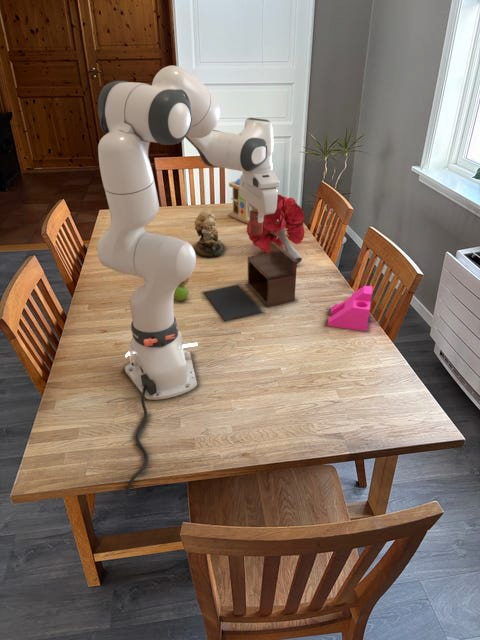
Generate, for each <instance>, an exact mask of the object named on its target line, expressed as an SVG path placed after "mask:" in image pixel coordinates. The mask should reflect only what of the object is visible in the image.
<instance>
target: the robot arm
mask: <svg viewBox="0 0 480 640" xmlns="http://www.w3.org/2000/svg"><path fill="white" fill-rule="evenodd" d="M98 95H99V96H98V100H97V114H98V119H99V126H100V129H101V130H102V132H103V133H104V134H105V135H103V136H102V137H101V138H100V140H99V143H98V146H97V154H98V164H99V171H100V177H101V181H102V186H103V190H104V192H105V193H104V194H105V197H106V200H107V204H108V205H107V206H108V209H109V213H110V224H109V227H108V228H107V230H105V231H104V232H103V233H102V234H101V236H100V237H99V240H98V242H97V244H96V254H97V258H98V260H99V262H100V263H101V265H102V266H103V267H106V268H108V269H110V270H112V271H114V272H117V273H119V274H125V275H130V276H136V277H140V278H143V280H144V284H142V285H140V286H139V287H137V288H135V290H133V291H132V293H131V295H130V297H129V307H130V308H129V309H130V314H131V315H130V316H131V323H130V326H131V327H130V330H131V334H132V338H131V340H130V341H129V343H128V345H127V347H128V352H127V353H126V354H125V358H127V357H128V356H129V357H128V358H129V363H127V364H126V366H125V367H124V371H125V374H126V375H127V376H128V377H129V379H130V380H131V381H132V382H133V384H134V385H135V386H136V388H137V389H138V390H139V392H140V393H141V398H140V399H141V406H142V411H143V414H144V415H143V419H142V422H141V423H140V424H139V426H138V429H137V430H136V433H135V442H136V444H137V446H138V447H139V449H140V450H141V451H142V453H143V455H144V462H143V465H142V466H141V467H140V468H139V469H138V470H137V471H136V472H135V473H134V474H133V475H132V477H131V478H130V480H128V481H129V482H128V483H127V487H126V489H125V494H126V495H129V494H130V492H131V487H132V485H133V483H134V481H135V480H136V478H138V476H140V475H141V473H143V472H144V471H145V469H146V468H147V466H148V463H149V454H148V451H147V450H146V448H145V446H144V445H143V444H142V443H141V440H140V433H141V431H142V429H143V428H144V426H145V425H146V422H147V420H148V410H147V406H146V403H145V402H146V401H145V399H147V400H152V401H154V400H156V401H157V400H165V399H170V398H175V397H177V396H181V395H184V394H187V393H189V392H190V391H192V390H194V389H195V388H196V387H197V385H198V383H197V377H196V373H195V369H194V365H193V360H192V354H191V351H188V350H187V349H184V348H189V347H198V342H193V343H186V340H182V332H181V331H180V330H179V329H178V322H177V319H176V317H175V311H174V307H175V306H174V299H175V298H174V292H175V290H176V288H177V286H178V285H179V284H180V283H182V282H183V281H185V280H186V279H188V278H189V279H190V277H191V276H192V274H193V273H194V271H195V268H196V265H197V255H196V254H197V253H196V250H195V249H194V247H193V245H192V244H191V243H190V242H187V241H185V240H183V239H180V238H177V237H175V236H172V235H165V234H158V233H152V232H149V231H147V229H146V228H145V226H147V225H149V224H151V223H152V222H154V220H155V219H156V218H157V216H158V214H159V211H160V202H159V198H158V192H157V187H156V182H155V178H154V177H155V176H154V172H153V168H152V165H151V162H150V158H149V148H150V144H151V143H157V144H159V145H164V146H173V145H177V144H180V143H181V142H182V141H183V140H185V139H186V140H187V141H188V142H189V143H190V144H191V145H192V146H193V147H194V148H195V149H196V150H197V153H198V154H199V157H200V158H201V161H202V162H203V164H204V165H205V166H208V167H212V168H221V169H227V170H233V171H239V172H242V174H241V175H240V177H239V179H240V185H239V194H240V197H242V198H243V199H244V200H246V201H247V202H248V208H249V215H250V211H251V210H252V205H253V206H254V207H255V208H257V209H258V212H259V213H258V216H257V217H256V218H257V219H256V220H257V222H259V223H262V222H263V221H264V215H267V214H274V213H275V211H276V208H277V194H278V189H277V188H279V186H280V181H279V178H278V177H277V176H276V174H275V172H274V170H273V161H272V155H273V151H274V129H273V124H272V122H271V121H270V120H269V119H265V118H257V117H248V118H246V119H245V121H244V127H243V129H242V131H241V132H239V133H234V132H233V133H232V132H228V131H227V132H226V131H221V130H216V127H217V126H218V123H219V121H220V117H221V105H220V104H219V101H218V99H217V97H216V96H215V95H214V94H213V92H212V91H211V90H210V89H209V88H208V87H207V85H205V84H204V83H203V82H202V81H201V80H200V79H198V77H196V76H195V75H193V74H192V73H190V72H189V71H187V70H186V69H184V68H182V67H180V66H178V65H168V66H164V67H163V68H161V69H160V70H159V71H158V72H157V73H156V74H155V76H154V77H153V80H152V83H151V84H149V83H144V82H135V81H126V80H113V81H111V82H109V83H106V84H105V85H104V86H103V87H102V88H101V90H100V92H99V94H98Z"/></svg>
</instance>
